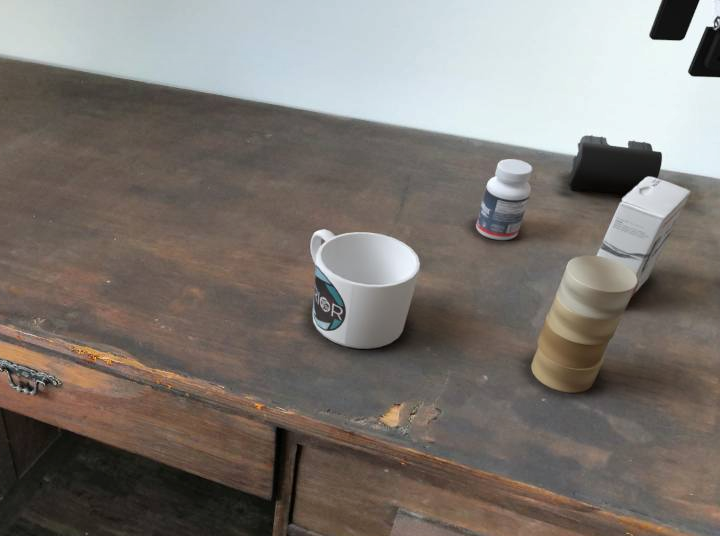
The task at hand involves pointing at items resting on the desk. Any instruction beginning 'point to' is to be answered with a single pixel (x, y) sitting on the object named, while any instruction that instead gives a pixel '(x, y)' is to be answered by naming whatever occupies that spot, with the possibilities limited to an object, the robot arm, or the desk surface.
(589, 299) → the ash chip
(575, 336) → the maple chip
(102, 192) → the desk surface
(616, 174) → the end cap
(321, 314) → the mug
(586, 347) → the chip pile
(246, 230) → the desk surface
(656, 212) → the ink box
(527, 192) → the pill bottle
